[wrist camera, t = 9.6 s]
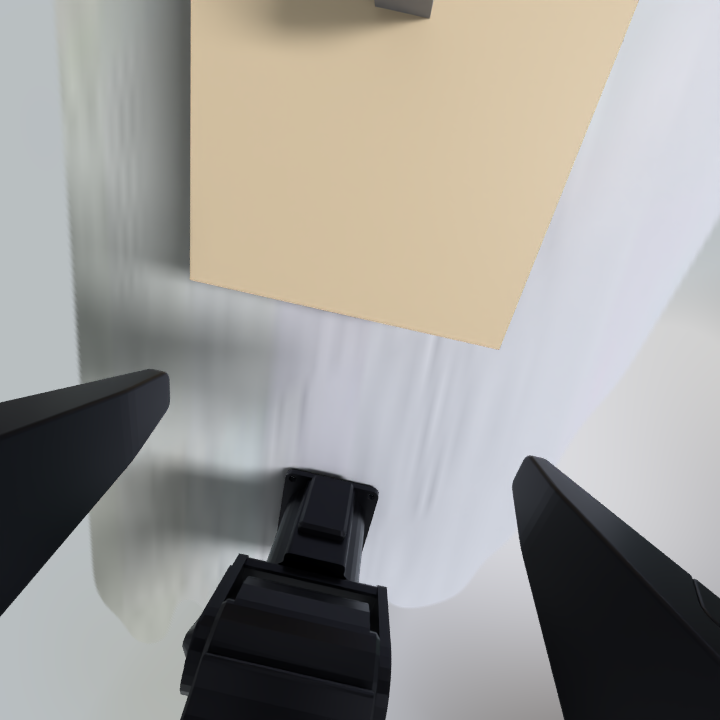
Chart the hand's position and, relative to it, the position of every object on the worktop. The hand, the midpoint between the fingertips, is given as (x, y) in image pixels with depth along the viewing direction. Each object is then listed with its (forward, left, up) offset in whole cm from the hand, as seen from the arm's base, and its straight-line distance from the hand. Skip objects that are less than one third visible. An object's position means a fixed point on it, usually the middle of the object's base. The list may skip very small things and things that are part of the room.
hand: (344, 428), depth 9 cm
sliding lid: (+7, +1, -7) cm, 10 cm away
